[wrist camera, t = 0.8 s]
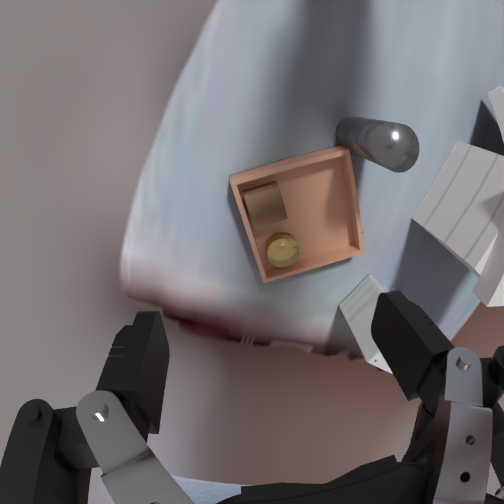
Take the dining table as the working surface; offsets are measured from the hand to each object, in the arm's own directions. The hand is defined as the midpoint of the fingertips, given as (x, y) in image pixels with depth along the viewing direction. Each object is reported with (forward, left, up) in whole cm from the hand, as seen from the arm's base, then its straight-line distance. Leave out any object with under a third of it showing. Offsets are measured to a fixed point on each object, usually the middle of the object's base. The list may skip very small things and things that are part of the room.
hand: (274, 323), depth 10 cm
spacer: (-1, +15, -26) cm, 30 cm away
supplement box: (+25, +14, -27) cm, 39 cm away
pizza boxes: (+9, +37, -27) cm, 46 cm away
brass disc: (+11, +2, -25) cm, 28 cm away
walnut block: (+4, +2, -25) cm, 26 cm away
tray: (+7, +6, -26) cm, 28 cm away
